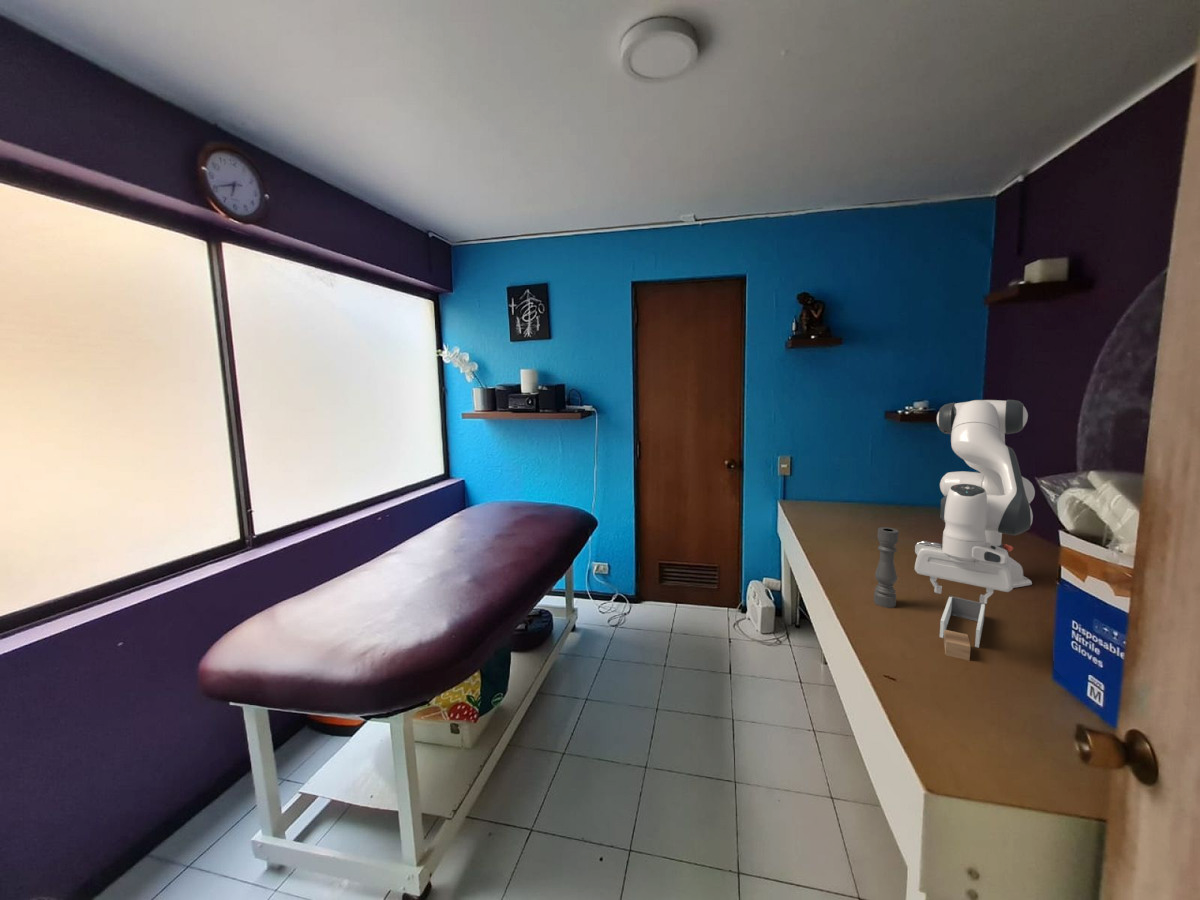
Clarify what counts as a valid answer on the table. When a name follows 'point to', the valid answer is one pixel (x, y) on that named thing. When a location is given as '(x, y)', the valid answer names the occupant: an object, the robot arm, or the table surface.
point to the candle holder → (886, 568)
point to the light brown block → (956, 645)
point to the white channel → (964, 614)
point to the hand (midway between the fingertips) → (959, 597)
